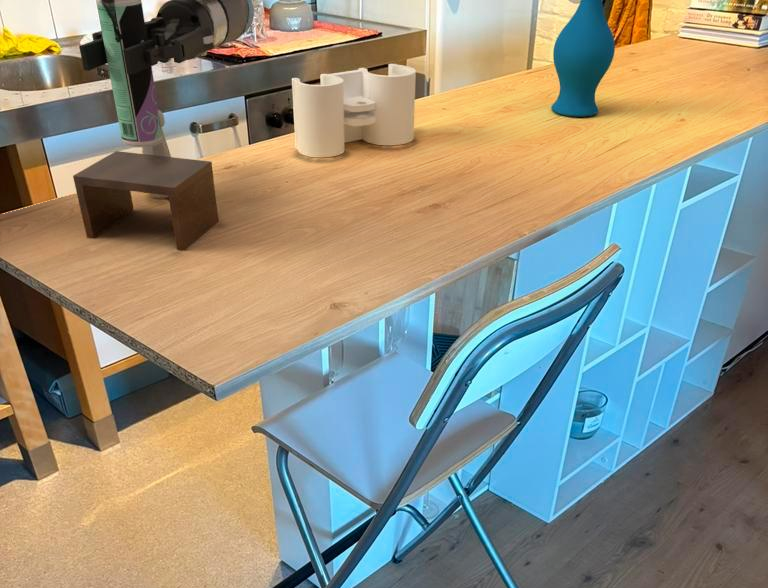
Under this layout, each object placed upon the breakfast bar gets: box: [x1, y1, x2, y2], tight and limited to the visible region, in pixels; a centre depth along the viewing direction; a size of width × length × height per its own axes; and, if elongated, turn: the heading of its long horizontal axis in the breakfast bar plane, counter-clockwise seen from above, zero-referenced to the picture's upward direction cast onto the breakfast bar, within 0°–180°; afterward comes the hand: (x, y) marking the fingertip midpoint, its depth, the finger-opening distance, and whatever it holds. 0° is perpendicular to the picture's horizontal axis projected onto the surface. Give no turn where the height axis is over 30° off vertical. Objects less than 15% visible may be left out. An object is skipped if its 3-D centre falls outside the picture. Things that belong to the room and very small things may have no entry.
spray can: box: [95, 0, 163, 148], centre depth 106 cm, size 6×6×20 cm
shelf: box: [72, 150, 219, 251], centre depth 121 cm, size 16×12×9 cm
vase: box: [550, 0, 616, 118], centre depth 169 cm, size 12×13×28 cm
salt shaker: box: [141, 109, 172, 200], centre depth 132 cm, size 6×6×13 cm
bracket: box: [291, 63, 417, 158], centre depth 154 cm, size 25×10×12 cm, turn 124°
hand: (106, 60), depth 101 cm, fingers closed on spray can, 5 cm apart
